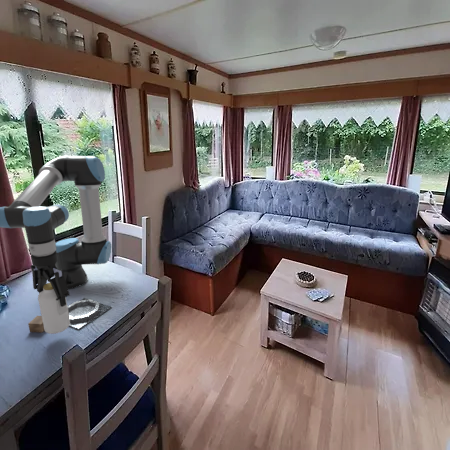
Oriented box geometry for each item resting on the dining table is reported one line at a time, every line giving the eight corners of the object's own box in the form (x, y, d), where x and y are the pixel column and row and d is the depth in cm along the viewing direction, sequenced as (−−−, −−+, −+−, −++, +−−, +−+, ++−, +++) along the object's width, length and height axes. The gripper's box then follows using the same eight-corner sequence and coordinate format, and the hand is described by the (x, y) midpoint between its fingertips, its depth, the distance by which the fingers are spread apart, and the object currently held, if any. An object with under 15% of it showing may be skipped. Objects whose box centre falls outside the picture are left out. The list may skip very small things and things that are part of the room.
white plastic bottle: (52, 321, 106) (44, 279, 101) (74, 320, 107) (67, 279, 101) (40, 335, 98) (30, 291, 93) (64, 335, 99) (56, 291, 93)
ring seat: (49, 318, 114) (48, 314, 114) (84, 298, 129) (83, 294, 129) (78, 330, 108) (78, 325, 107) (111, 307, 123) (111, 303, 122)
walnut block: (30, 332, 106) (28, 323, 105) (38, 324, 111) (37, 315, 110) (42, 332, 106) (40, 324, 105) (51, 324, 111) (49, 316, 110)
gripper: (12, 250, 94) (25, 307, 101) (54, 262, 86) (65, 323, 93) (34, 243, 101) (45, 297, 107) (75, 254, 93) (84, 311, 99)
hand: (54, 309), depth 100 cm, fingers closed on white plastic bottle, 8 cm apart
